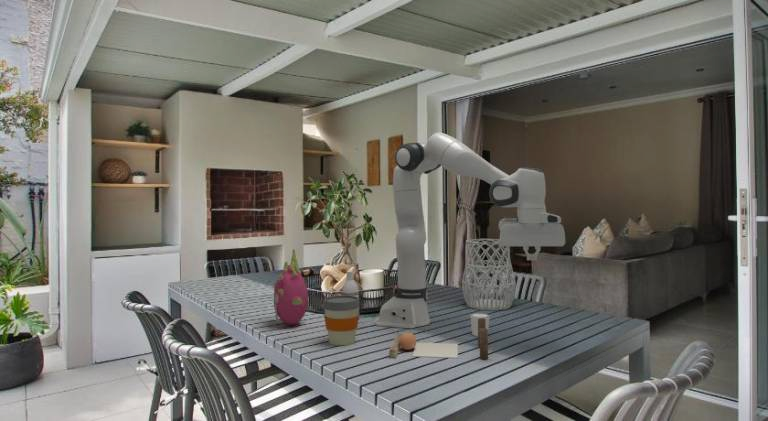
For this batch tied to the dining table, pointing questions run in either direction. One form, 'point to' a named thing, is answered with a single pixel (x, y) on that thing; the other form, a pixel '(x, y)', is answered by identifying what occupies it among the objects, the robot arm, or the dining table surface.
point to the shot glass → (475, 322)
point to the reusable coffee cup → (341, 319)
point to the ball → (407, 341)
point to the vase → (466, 285)
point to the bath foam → (350, 286)
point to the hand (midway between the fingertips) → (531, 260)
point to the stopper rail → (395, 346)
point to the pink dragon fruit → (290, 294)
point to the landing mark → (436, 350)
